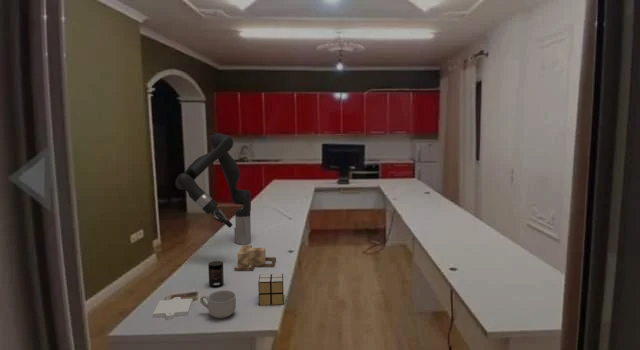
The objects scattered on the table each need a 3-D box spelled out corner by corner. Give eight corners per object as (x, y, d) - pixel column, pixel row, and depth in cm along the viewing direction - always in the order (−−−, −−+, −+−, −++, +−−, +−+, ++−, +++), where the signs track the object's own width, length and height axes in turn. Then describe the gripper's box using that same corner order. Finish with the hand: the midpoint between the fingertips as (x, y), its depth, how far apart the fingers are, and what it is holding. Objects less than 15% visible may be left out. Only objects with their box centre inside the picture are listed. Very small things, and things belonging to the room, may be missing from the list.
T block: (237, 269, 221) (237, 253, 220) (242, 259, 237) (242, 245, 236) (263, 268, 222) (263, 253, 221) (266, 259, 237) (266, 244, 237)
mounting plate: (161, 302, 181) (161, 298, 181) (193, 300, 183) (193, 296, 183) (151, 321, 163) (151, 316, 163) (187, 319, 165) (187, 314, 165)
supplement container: (222, 281, 203) (221, 260, 202) (225, 286, 197) (224, 264, 196) (207, 284, 201) (207, 262, 200) (210, 289, 195) (209, 266, 193)
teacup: (241, 311, 171) (241, 291, 170) (226, 323, 161) (226, 302, 160) (211, 306, 176) (210, 287, 175) (195, 317, 166) (194, 297, 165)
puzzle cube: (260, 296, 186) (259, 273, 185) (283, 295, 187) (283, 273, 186) (258, 305, 176) (258, 282, 175) (283, 305, 177) (283, 281, 176)
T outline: (234, 271, 218) (234, 268, 218) (241, 257, 241) (241, 254, 241) (273, 270, 219) (273, 267, 218) (276, 256, 241) (276, 254, 241)
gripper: (208, 200, 219) (233, 224, 220) (214, 196, 232) (238, 218, 233) (198, 211, 219) (223, 234, 221) (205, 205, 232) (228, 228, 234)
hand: (231, 226), depth 227 cm, fingers closed
